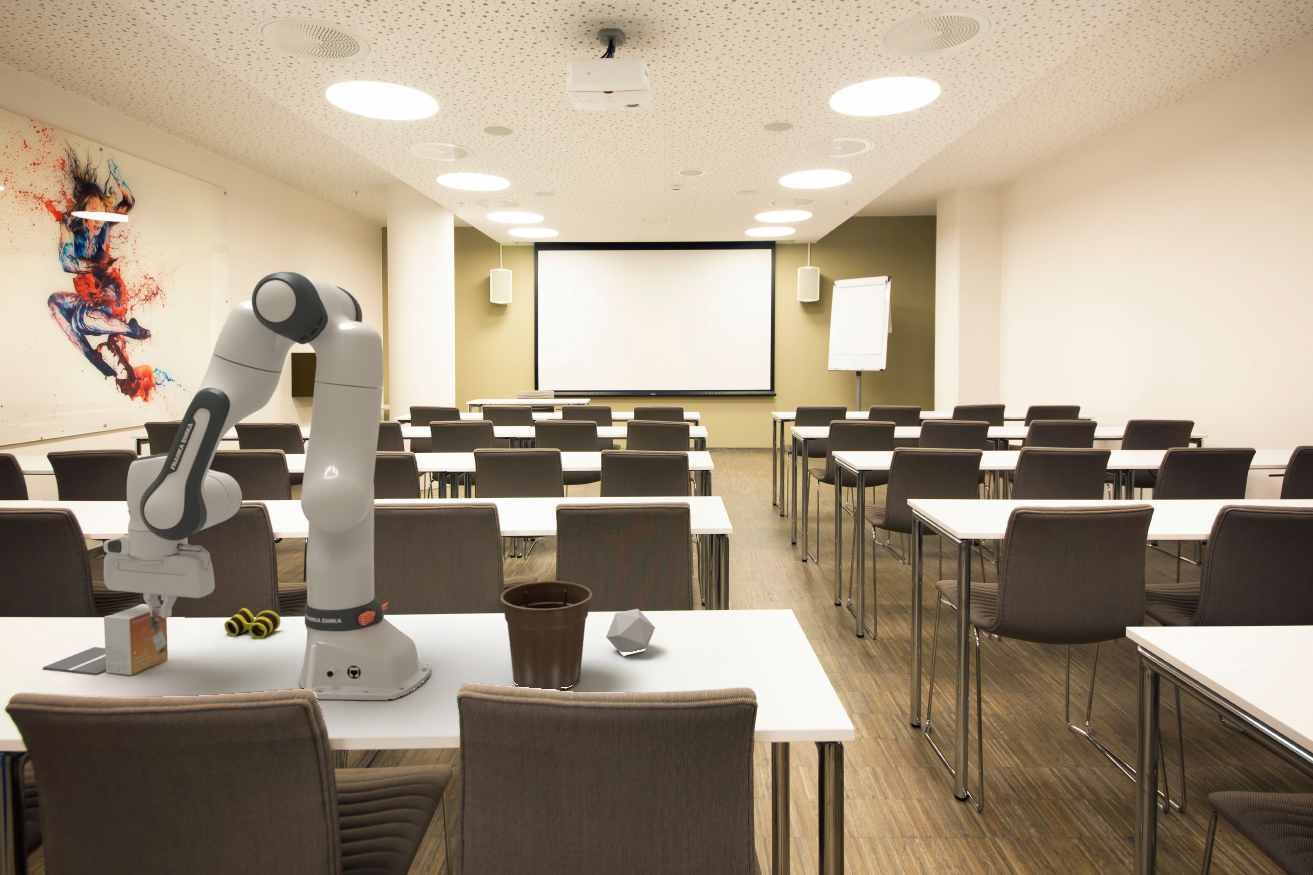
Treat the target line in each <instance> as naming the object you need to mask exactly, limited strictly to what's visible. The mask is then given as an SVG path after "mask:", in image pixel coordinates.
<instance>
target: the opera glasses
mask: <svg viewBox="0 0 1313 875" xmlns="http://www.w3.org/2000/svg"><path fill="white" fill-rule="evenodd" d="M280 625H281V618H280V615H278V613H276V612H275V611H273V610H262V611H260V612H259V613H258V614H257V615H256V616H255V617H254V615H253V613H252V612H251V611H250V610H249V609H248V608H246V607H243V608H240V609H239V612H238V613H236V614H234V615H233V616H232V617H231V618H230V619H229V620H227V621H225V623H224V629H225V631H226V633H227V634H228V635H229V636H234V637H236V636H237V635H238V634H241V633H245V632H247V631H248V632H249V635H250V636H252V638H254V639H263V638H264V637H266V636H267V635H269V634H270V633H271V632H275V631H277V630H278V629H279V627H280Z"/></svg>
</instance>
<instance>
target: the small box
mask: <svg viewBox="0 0 1313 875" xmlns="http://www.w3.org/2000/svg"><path fill="white" fill-rule="evenodd" d="M167 625H168V624H167V618H158V617H151V616H150V608H149V607H148V605H147V604H146V603H140V604H138V605H136V606H134V607H131V608H127V609H125V610H122V611H119V612H116V613H113V614H110V615H106V616H104V617H103V626H104V627H103V628H104V648H105V654H106V671H105V672H106V673H107V674H116V675H126V676H133V675H134V674H137V673H139V672H141V671H144V670H146V669H149V668H151V667H153V666H155V665H158V664H161V663H164V662H166V661H168V658H169V655H168V654H169V653H168V652H169V650H168V626H167Z"/></svg>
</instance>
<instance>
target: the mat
mask: <svg viewBox="0 0 1313 875" xmlns="http://www.w3.org/2000/svg"><path fill="white" fill-rule="evenodd" d="M42 670H45V671H46V670H48V671H55V672H56V671H57V672H63V673H75V674H83V675H92V676H98V675H100V674H103V673H105V672H106V654H105V647H97V646H94V647H91V648H88V649H85V650H84V651H79V652H78V653H76V654H73V655H70V656H68V657H66V658H65V657H64V658H62V659H60V660H57V661H55V662H53V663H50V664H47V665H45V666H43V667H42Z"/></svg>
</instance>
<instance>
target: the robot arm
mask: <svg viewBox="0 0 1313 875" xmlns="http://www.w3.org/2000/svg"><path fill="white" fill-rule="evenodd" d="M295 344H300V345H306V344H309V346H310V347H311V348H312V349H313V351H314V354H315V356H316V357H315V358H316V367H315V378H314V387H313V397H312V399H313V400H312V410H311V421H310V428H309V429H310V430H309V437H308V442H307V449H306V456H305V463H304V471H303V477H302V486H301V495H300V505H301V509H302V512H303V515H304V516H305V518H306V520H307V521H308V532H307V548H306V549H307V551H306V596H307V601H306V602H305V605H304V625H305V627H306V642H305V643H306V646H305V652H304V657H303V658H304V660H303V663H302V664H303V665H302V669H301V673H300V676H299V680H298V685H299V687H300V688H301V689H303V688H305V689H309V690H312V691H313V692H315V693H316V695H317V697H318V699H317V700H350V701H351V700H352V701H353V700H356V701H357V700H358V701H359V700H360V701H361V700H363V701H365V700H366V701H367V700H370V701H389V700H388V699H393V700H396V699H398V698H397V697H399V698H401V697H400V696H402V695H404V696H406V695H407V694H406V693H408V692H410V691H411V690H413V689H414V688H416V687H418V686H419V685H420V684H421V683H422V682H423V681H425V680H426V679H427V677H428V676H429V675H430V676H431V674H430V672H431V673H432V668H431V665H430V663H426V662H421V661H419V656H418V651H417V647H416V644H415V642H414V640H413V639H412V638H411V637H410V636H408V635H406V634H405V633H404V632H403V631H401V630H400V629H399V628H398V627H396V626H395V625H393V624H392V623H391V621H388V620H387V619H386V618H385V614H384V611H385V610H387V609H388V608H389V606H388V605H389V602H388V601H387V602H384V603H383V604H381V603H379V601H378V598H377V596H375V484H374V481H375V470H376V461H377V452H378V443H379V442H378V441H379V433H380V424H381V423H380V422H381V410H382V399H383V388H384V370H385V369H384V350H383V342H382V338H381V335H380V333H378V331H377V330H376V329H375V328H374V327H372V326H370V325H368V324H366V323H364V322H363V311H362V308H361V305H360V303H359V301H358V300H357V299H356V298H355V296H354V295H352V294H351V293H350V292H349V291H347V290H346V289H344V288H342V287H340V286H337V285H333V284H331V283H329V282H327V281H325V280H323V279H321V278H318V277H314V276H310V275H305V274H301V273H297V272H294V271H279V272H274V273H270V274H268V275H266V276H265V277H263V278H261V279H260V280H259V281H258V282H257V284H256V286H255V287H254V288H253V292H252V296H251V299H247V300H242V301H240V302H238V303H237V304H235V305H234V306H233V308H232V309H231V310H230V313H229V315H228V316H227V318H226V320H225V322H224V323H223V326H222V328H221V329H220V333H219V335H218V337H217V339H216V342H215V346H214V349H213V352H212V355H211V358H210V362H209V364H208V367H207V370H206V373H205V375H204V378H203V379H202V381H201V384H200V386H199V388H198V390H197V392H196V393H195V395H194V397H193V398H192V400H191V402H190V404H189V405H188V407H187V410H186V412H185V413H184V415H183V418H182V420H181V422H180V425H179V427H178V430H177V432H176V434H175V437H174V438H173V442H172V444H171V446H170V449H169V452H163V453H157V454H152V455H151V454H150V455H146V456H141V457H138V458H136V459H133V461H132V462H131V463H130V465H129V468H128V473H127V480H126V505H127V508H128V511H129V516H130V517H129V521H128V524H127V533H126V534H124V535H121V536H118V537H114V538H111V539H108V540H105V541H104V542H103V551H104V552H105V553H107V554H105V556H104V557H103V558H104V559H103V582H104V585H105V586H106V588H107V589H108V590H109V591H115V592H128V593H137V594H138V593H139V594H143V596H142V597H143V600H144V602H145V604H147V605H148V607H149V608H150V616H151V617H158V618H166V619H168V618H169V617H172V614H173V612H172V610H173V608H172V607H173V606H174V604H175V602H176V600H177V599H178V597H181V598H189V599H190V598H191V599H192V598H193V599H201V598H204V597H206V596H209V595H211V594H212V592H214V590H215V587H216V585H215V584H216V583H215V573H214V568H213V567H214V566H213V564H212V561H211V553H210V552H209V551H208V549H206V548H204V546H202V545H199V544H198V545H197V544H196V545H193V544H188V543H189V541H188V538H189V537H190V536H192V535H194V534H196V533H198V532H199V531H203V530H205V529H208V528H211V527H213V526H215V525H218V524H220V523H223V522H225V521H227V520H229V519H230V518H233V517H235V515H236V514H238V512H239V511H240V509H241V507H242V504H243V491H242V488H241V486H240V483H239V482H238V480H236V479H235V477H233V476H232V475H230V474H228V473H227V472H226V473H225V472H223V471H216V470H213V469H210V467H211V465H212V462H213V460H214V458H215V455H216V452H217V450H218V448H219V445H220V443H221V441H222V440H223V438H224V436H226V434H227V433H228V431H230V430H231V429H232V428H233V427H235V425H237V424H238V423H239V422H241V421H242V420H244V419H245V418H247V417H249V416H250V415H251V416H252V415H253V414H254V413H256V412H258V411H260V410H262V409H263V408H264V407H266V406H267V405H268V403H269V401H270V400H271V398H272V397H273V395H274V393H275V391H276V389H277V388H278V384H279V382H280V378H281V376H282V371H283V368H284V366H285V362H286V358H287V356H288V353H289V351H290V349H291V348H292V346H294V345H295ZM159 596H160V599H159V598H158V597H159ZM160 600H161V601H163V603H162V604H161V601H160ZM430 676H429V677H430ZM427 680H428V679H427ZM427 680H426V681H427ZM426 681H425V682H426ZM420 686H421V685H420ZM420 686H419V687H420ZM419 687H418V688H419ZM416 689H417V688H416ZM413 691H414V690H413ZM410 693H411V692H410ZM405 694H406V695H405ZM408 694H409V693H408ZM402 697H403V696H402ZM395 698H396V699H395Z"/></svg>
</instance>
